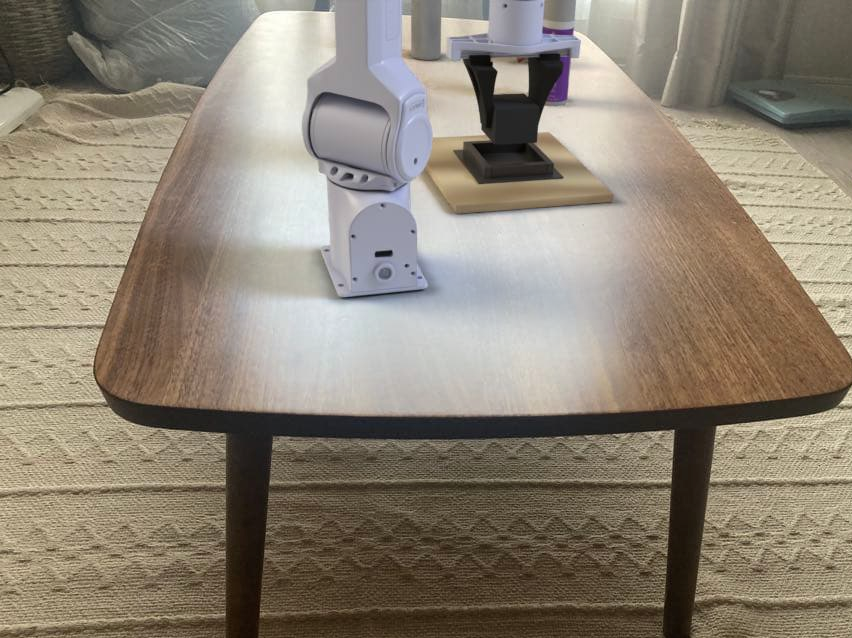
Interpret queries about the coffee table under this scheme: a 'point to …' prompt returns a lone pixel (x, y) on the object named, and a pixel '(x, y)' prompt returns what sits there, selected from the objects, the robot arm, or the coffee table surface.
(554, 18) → the container
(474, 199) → the pad base
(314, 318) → the coffee table surface
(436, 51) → the grey upright cylinder
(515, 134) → the black cube
